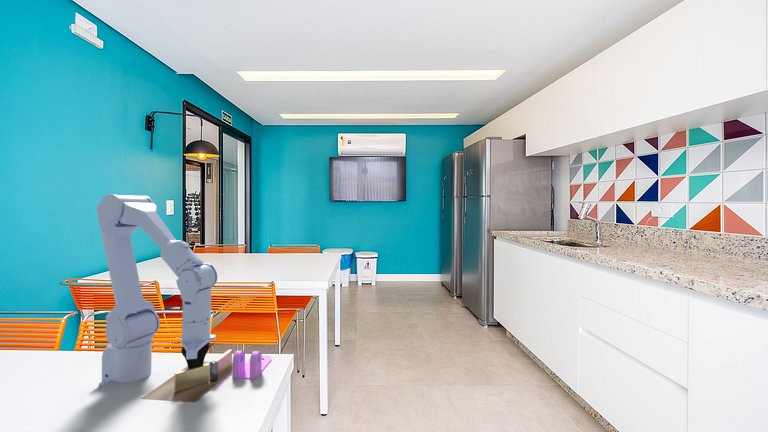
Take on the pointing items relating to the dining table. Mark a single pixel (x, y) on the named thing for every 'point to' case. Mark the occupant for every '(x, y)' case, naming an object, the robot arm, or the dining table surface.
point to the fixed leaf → (220, 365)
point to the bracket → (249, 365)
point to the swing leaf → (191, 377)
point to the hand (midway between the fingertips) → (195, 376)
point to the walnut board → (186, 395)
